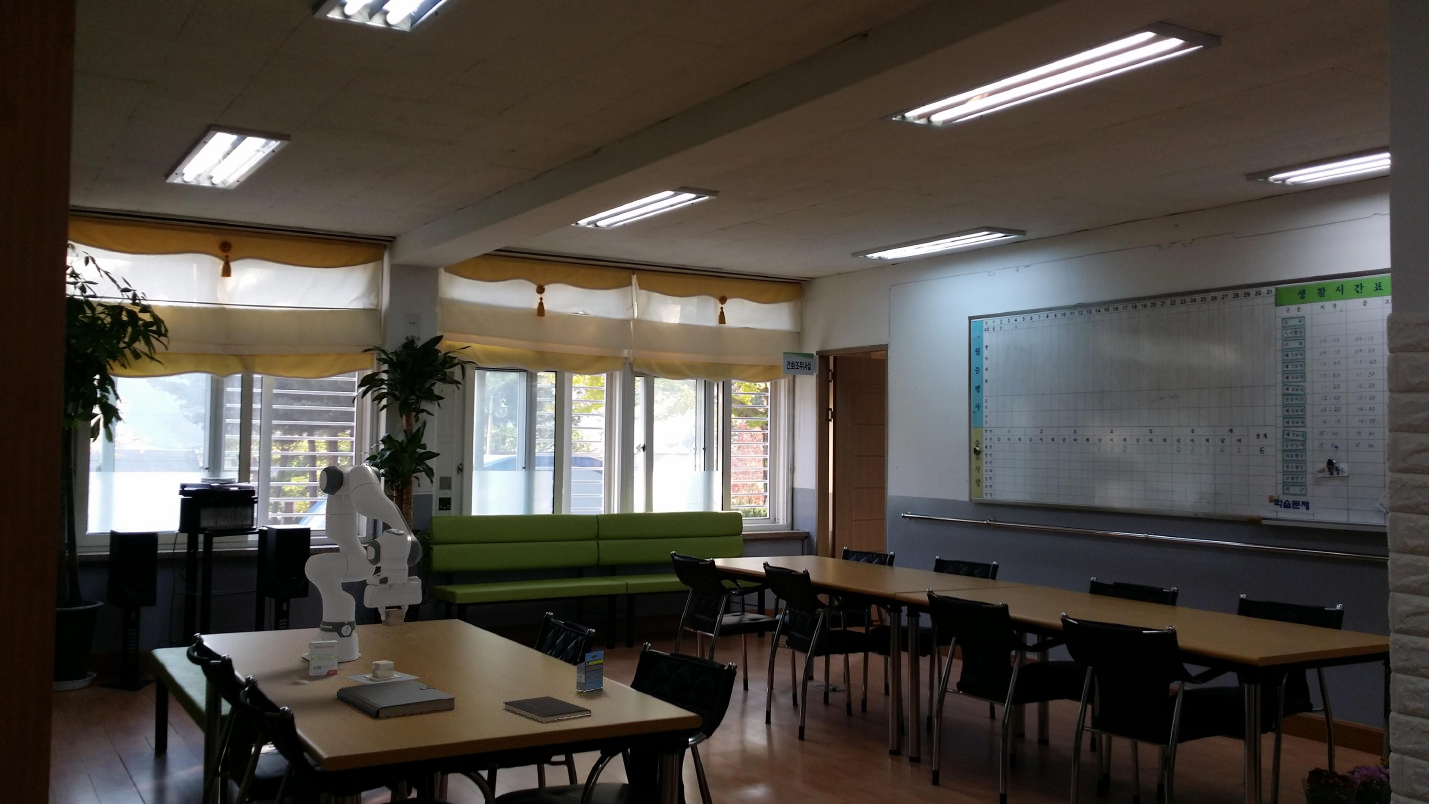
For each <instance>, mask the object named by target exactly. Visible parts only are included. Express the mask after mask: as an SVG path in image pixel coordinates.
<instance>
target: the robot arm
mask: <svg viewBox="0 0 1429 804" xmlns="http://www.w3.org/2000/svg"><path fill="white" fill-rule="evenodd" d="M318 482H319V483H318V484H319V489H320V490H321V492H322V493H324V494H326V495H327V499H326V505H325V523H324V524H325V525H324V526H325V527H324V529H325V533H324V534H325V536H326V538H327V539H328V540H330V541H331V542H333V543H335V544H337V546H338V549H339V552H323V553H319V554H314V555H310V557H309V558H308V559H307V561H306V562H305V566H304V573H305V576H306V578H307V579H308V580H309V582H311V583H312V584H314V586H315V587H316V588H317V589H318V591H319V593H320V595H321V599H322V620H321V621H319V625H320V626H319V632H317V633H316V634H315V636H314V637H312V638H311V640H309V641H310V642H308V649H309V650H308V652H305V653H302V655H301V656H302V658H304V659H306V660H308V661H310V646H311V642H312V641H334V640H336V641H337V642H338V663H340V662H341V663H342V662H349V661H355V660H358V659H359V658H361V657H362V653H359V636H358V634H357V633H356V631H355V630H356V626H357V623H356V619H355V616H356V614H355V611H356V600H355V597H354V596H353V595H352V594H350V593H349V592H346V591H345V590H343V587H342V583H350V582H351V583H353V582H360V581H364V580H366V584H367V585H366V587H365V589H364V596H363V605H364V606H365V608H368V609H369V608H370V609H373V608H374V609H375V608H377V610H378V612H379V614H380V620H381V621H382V620H388V618H387V617H388V615H386V614H385V612H384V610H386V607H395V606H396V607H397V606H400V609H401V610H404V619H405V617H406V613H407V611H408V609H409V605H418V604H421V602H422V600H423V596H422V595H423V594H422V593H423V592H422V580H421V578H419V577H418V576H409V567H414V565H416V564H417V563H418V562H419V561H420V559H421V558H422V554H423V552H422V551H423V550H422V546H421V543H420V541H419V540H418V539H417V537H416V536H415V535H414V534H413V531H412V530H411V528H410V526H409V524H408V522H407V521H406V518H405V517H404V515H403V513H402V511H401V509H400V507H398V505H397V504H396V503H395V502H394V501H392V500H391V499H390V498H389V497H388V496H387V495H386V494H385V492H384V490H383V488H382V485H381V484H382V475H381V472H380V470H379V469H378V468H377V467H375V466H371V465H365V464H358V465H357V464H349V465H348V464H347V465H329V466H326V467H324V468H322V470H321V472H320V474H319V479H318ZM358 514H359V515H361V516H364V517H366V518H370V519H374V520H378V521H380V522H383V523H385V524H387V525H388V526H389V527H390V528H388V529H385V530H384V531H383V533H382V535H381V536H379V537H377V538H373V539H372V540H371V541H370V542H369V543H368V545H367V546H366V549H365V547H363V545H362V543H361V540H360V538H359V535H358ZM376 567H381V568H380V572H378V573H376V574H374V573H375V570H376Z"/></svg>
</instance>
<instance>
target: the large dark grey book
mask: <svg viewBox="0 0 1429 804" xmlns="http://www.w3.org/2000/svg"><path fill="white" fill-rule="evenodd" d="M336 697H337V698H338V699H339V700H341V701H343V702H345V703H347V704H348V705H351V706H353V707H355V708H356V709H359V710H360V709H361V711H362V710H363V712H364V711H365V713H366V712H367V714H369V715H371V716H372V717H374V718H377V719H378V718H380V717H382V718H384V717H383V716H390V717H393V716H392V715H398V716H401V715H400V714H406V715H410V714H409V713H414V714H421V713H420V712H422V713H428V712H436V711H435V710H437V711H443V710H451V708H452V709H455V704H456V703H455V701H456V696H454V695H451V694H449V693H446V692H444V691H441V690H439V689H436V687H432V686H430V685H429V686H428V685H427V684H424V683H422V682H419V681H417V680H416V679H411V680H404V681H392V682H384V683H376V684H361V685H353V686H346V687H342V688H341V687H340V688H339V689H338V690H337V691H336ZM433 710H434V711H433ZM418 712H419V713H418ZM377 716H378V717H377Z"/></svg>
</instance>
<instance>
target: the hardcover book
mask: <svg viewBox="0 0 1429 804" xmlns="http://www.w3.org/2000/svg"><path fill="white" fill-rule="evenodd" d="M502 703H503V704H504V709H506V708H507V709H506V710H508V709H511V710H513V711H512V712H514V711H516V712H515V713H517V712H518V713H517V714H519V713H521V714H520V715H522V714H524V715H523V716H525V715H527V716H526V717H528V716H530V717H532V718H531V719H533V718H536V719H537V720H536V719H535V720H536V721H539V720H540V721H539V722H541V721H543V722H542V723H546V722H545V721H549V722H551V721H550V720H555V719H559V718H564V717H571V716H577V715H585V714H591V715H592V710H591V709H589V708H586V707H584V706H580V705H577V704H574V703H571V702H567V701H564V700H561V699H558V698H555V697H553V696H551V695H550V696H549V695H547V696H541V697H540V696H539V697H532V698H525V699H518V700H509V701H503V702H502ZM511 710H510V711H511ZM530 717H529V718H530Z"/></svg>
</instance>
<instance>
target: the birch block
mask: <svg viewBox="0 0 1429 804" xmlns="http://www.w3.org/2000/svg"><path fill="white" fill-rule="evenodd" d="M394 671H395V662H394V661H391V660H380V661H379V660H377V661H372V664H371V673H372V677H373V678H377V679H382V678H390V677H393V676H394Z"/></svg>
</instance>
